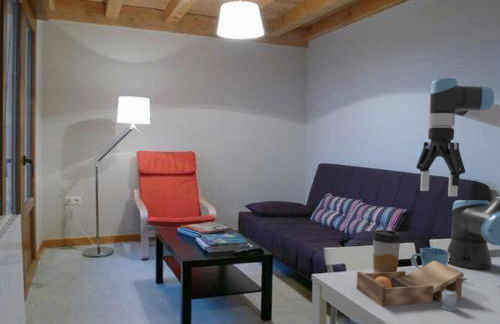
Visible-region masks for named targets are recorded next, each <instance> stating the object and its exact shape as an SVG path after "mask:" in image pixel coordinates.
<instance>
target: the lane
mask: <svg viewBox="0 0 500 324" xmlns="http://www.w3.org/2000/svg"><path fill="white" fill-rule="evenodd" d="M356 272H357V273H356V289H357V290H358V291H359V292H361V293H363V295H365V296H367V297H368V298H369V299H370V300H372V301H374V302H375V303H377V304H378V305H379V306H383V307H384V306H398V305H409V304H410V305H411V304H413V305H414V304H427V303H433V302H434V299H436V300H437V301H439V302H442V292H443V291H445V290H447V291H452V292H453V291H455V292H456V293H457V301H458V300H462V290H463V289H462V287H463V277H465V276H464V272H462V271H461V270H458V269H456V268H453V267H451V266H448V265H446V264H443V263H441V262H439V261H436V260H432V261H431V262H428V263H426V264H424V265H423V266H422V267H421V266H420V267H419V268H417V269H416V270H414V271H412V272H410V273H408V274H407V273H406V271H403V270H402V271H400V270H399V271H397V272H378V273H374V272H362V271H356ZM378 277H386V278H388V279H389V280H390V282H391V284H392V288H386V287H385V286H384V285H382V284H381V283H379V282H377V281H376V280H375V279H376V278H378Z"/></svg>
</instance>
